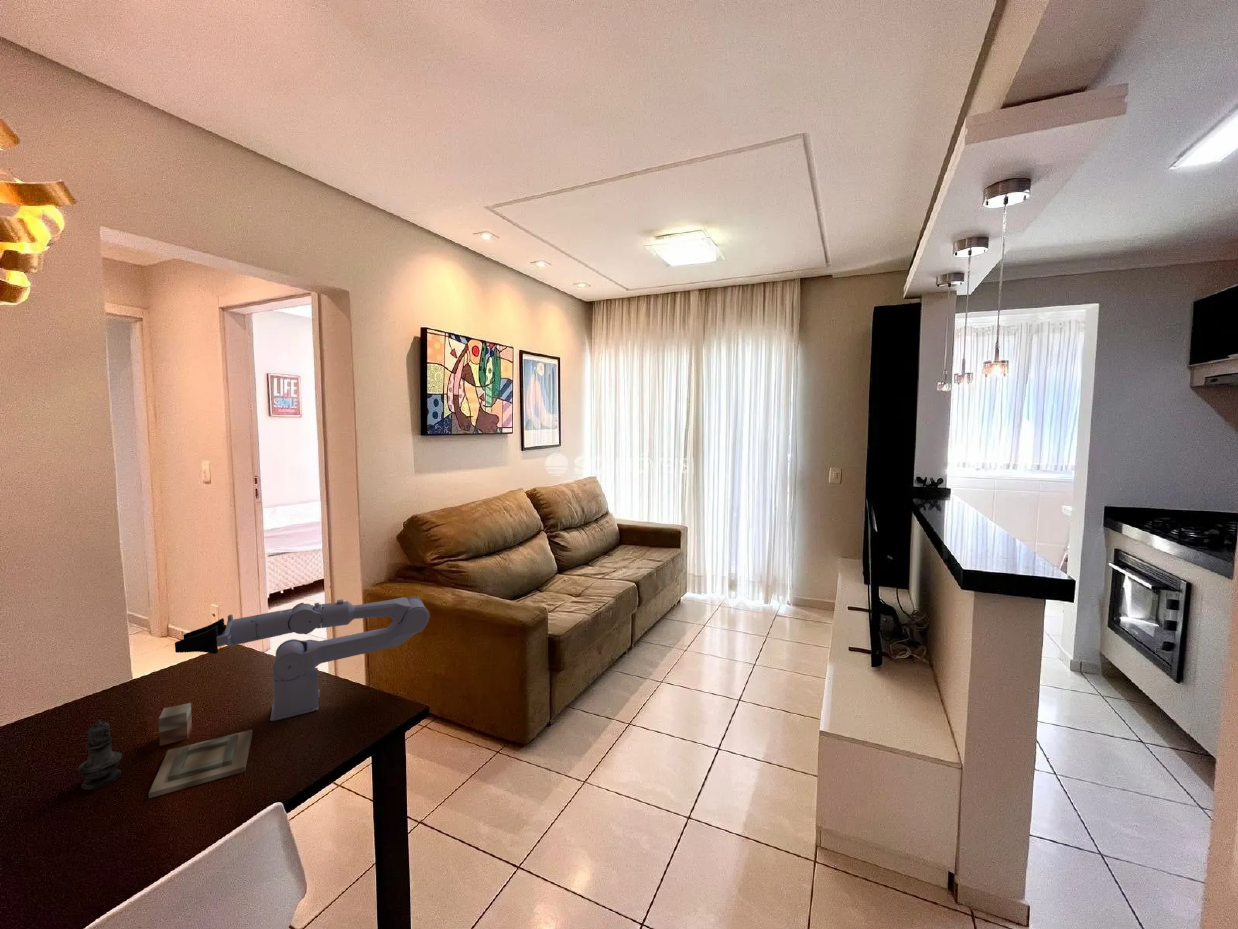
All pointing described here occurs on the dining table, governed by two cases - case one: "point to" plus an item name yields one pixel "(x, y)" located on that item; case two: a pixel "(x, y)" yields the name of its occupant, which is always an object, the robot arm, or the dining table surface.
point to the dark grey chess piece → (99, 758)
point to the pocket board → (202, 763)
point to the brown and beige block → (175, 724)
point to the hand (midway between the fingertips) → (179, 643)
